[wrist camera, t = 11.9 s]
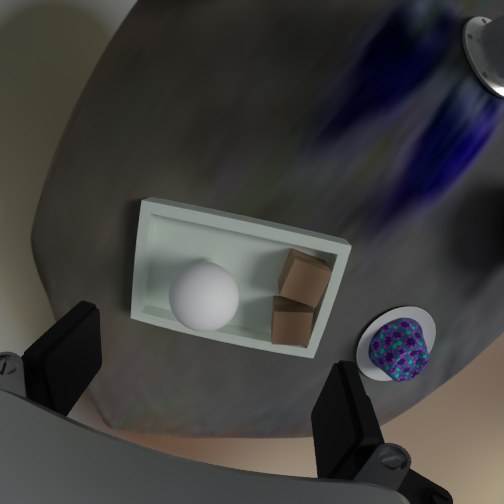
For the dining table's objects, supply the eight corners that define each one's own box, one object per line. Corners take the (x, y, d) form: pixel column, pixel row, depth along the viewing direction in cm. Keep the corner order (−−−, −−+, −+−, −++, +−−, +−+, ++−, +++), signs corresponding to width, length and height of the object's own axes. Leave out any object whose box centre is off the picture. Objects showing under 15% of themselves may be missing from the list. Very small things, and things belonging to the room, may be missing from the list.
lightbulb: (245, 282, 35) (250, 333, 24) (195, 299, 35) (181, 353, 25) (226, 232, 33) (222, 265, 23) (174, 250, 34) (149, 290, 23)
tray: (344, 238, 34) (351, 245, 31) (310, 344, 38) (313, 358, 35) (151, 196, 33) (141, 200, 30) (139, 307, 37) (130, 318, 34)
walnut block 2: (308, 296, 35) (313, 312, 31) (304, 327, 36) (308, 345, 32) (273, 295, 35) (274, 311, 31) (271, 326, 36) (271, 344, 32)
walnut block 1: (324, 260, 34) (332, 272, 30) (310, 292, 35) (315, 307, 31) (291, 247, 33) (295, 259, 30) (277, 280, 34) (279, 295, 31)
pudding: (414, 286, 35) (432, 303, 30) (443, 343, 38) (459, 362, 33) (338, 341, 38) (347, 365, 33) (377, 390, 40) (387, 413, 35)
